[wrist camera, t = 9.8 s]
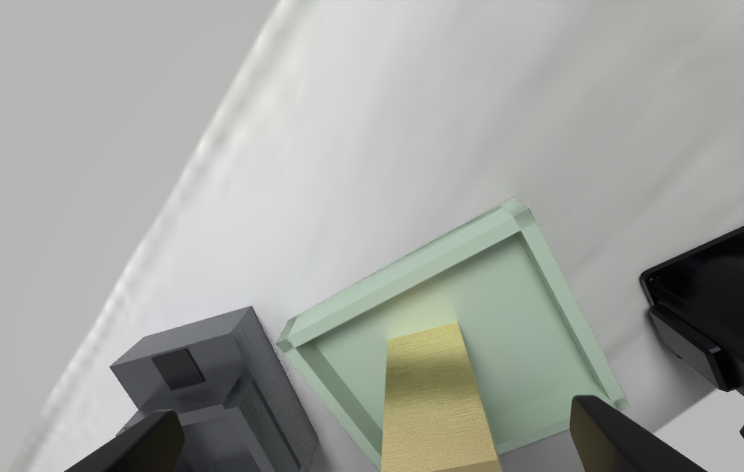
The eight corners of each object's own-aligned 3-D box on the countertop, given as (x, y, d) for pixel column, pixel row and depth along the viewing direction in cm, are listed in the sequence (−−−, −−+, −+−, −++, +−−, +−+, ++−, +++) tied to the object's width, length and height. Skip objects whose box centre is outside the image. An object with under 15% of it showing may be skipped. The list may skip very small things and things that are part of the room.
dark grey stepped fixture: (251, 306, 22) (212, 355, 18) (317, 437, 26) (299, 509, 21) (143, 337, 24) (80, 391, 19) (219, 458, 27) (181, 529, 22)
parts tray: (513, 197, 19) (529, 208, 17) (606, 375, 22) (630, 406, 20) (288, 320, 23) (275, 343, 20) (396, 458, 26) (396, 492, 23)
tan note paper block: (457, 321, 21) (497, 459, 13) (476, 379, 22) (524, 540, 14) (387, 339, 22) (380, 481, 13) (409, 395, 23) (415, 556, 15)
